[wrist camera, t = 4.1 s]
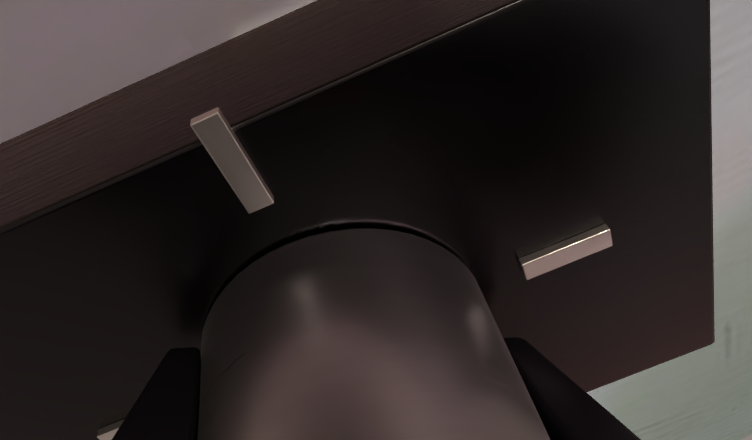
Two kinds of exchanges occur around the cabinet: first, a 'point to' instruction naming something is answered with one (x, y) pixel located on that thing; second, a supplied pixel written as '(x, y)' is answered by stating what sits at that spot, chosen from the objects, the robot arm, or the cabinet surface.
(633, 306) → the panel
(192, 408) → the robot arm
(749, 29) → the cabinet surface
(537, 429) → the knob
